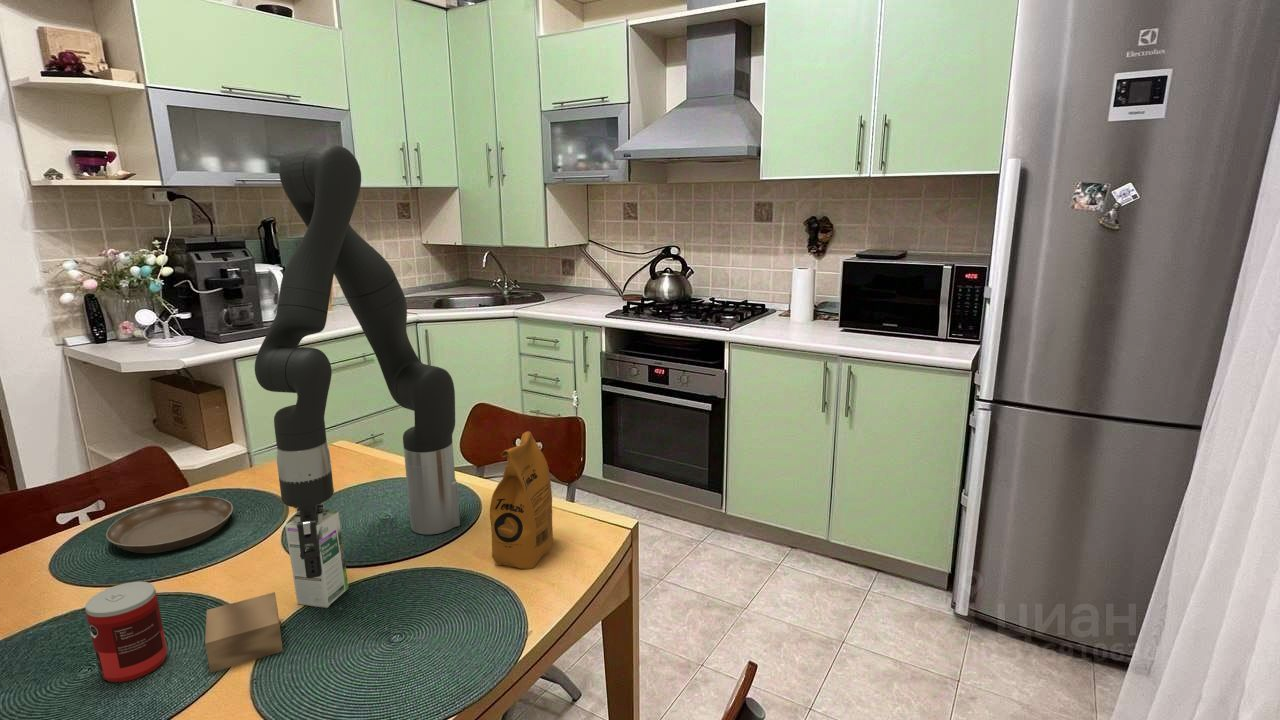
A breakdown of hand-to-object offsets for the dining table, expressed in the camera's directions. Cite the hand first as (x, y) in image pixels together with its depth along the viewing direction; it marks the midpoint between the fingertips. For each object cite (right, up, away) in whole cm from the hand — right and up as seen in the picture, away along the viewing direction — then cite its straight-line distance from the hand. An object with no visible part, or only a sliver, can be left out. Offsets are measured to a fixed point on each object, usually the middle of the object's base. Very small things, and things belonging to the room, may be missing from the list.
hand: (315, 563), depth 110 cm
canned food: (-19, -10, -15) cm, 26 cm away
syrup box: (0, -6, +2) cm, 6 cm away
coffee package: (+31, -3, +15) cm, 35 cm away
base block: (-5, -9, -10) cm, 15 cm away
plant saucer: (-39, -1, +23) cm, 46 cm away
